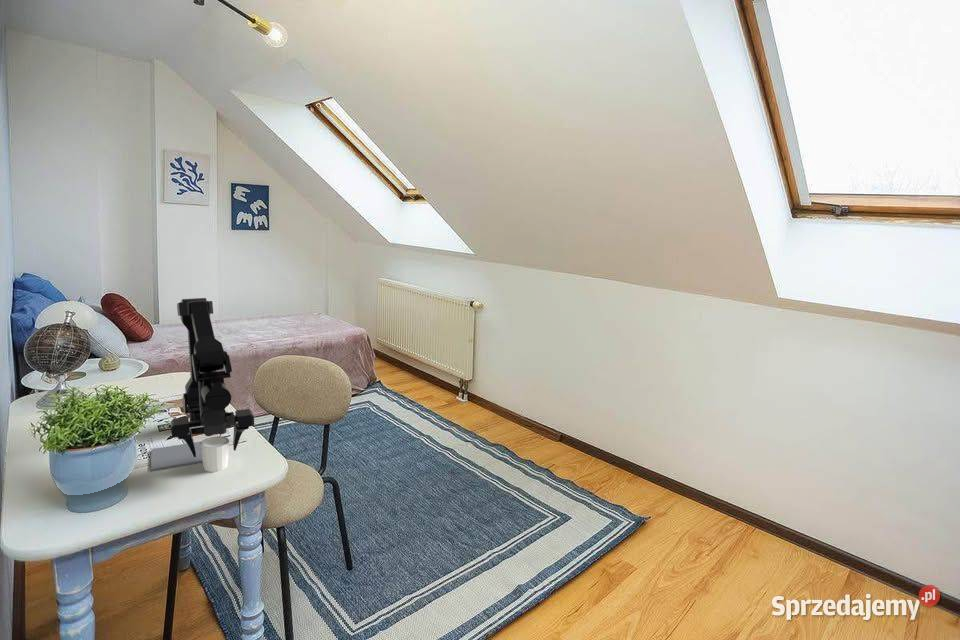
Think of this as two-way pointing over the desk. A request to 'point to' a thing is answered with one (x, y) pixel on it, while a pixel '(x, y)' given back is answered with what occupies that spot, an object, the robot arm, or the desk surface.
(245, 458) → the desk surface
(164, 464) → the coaster mat
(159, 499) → the desk surface
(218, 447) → the white faceted cylinder
